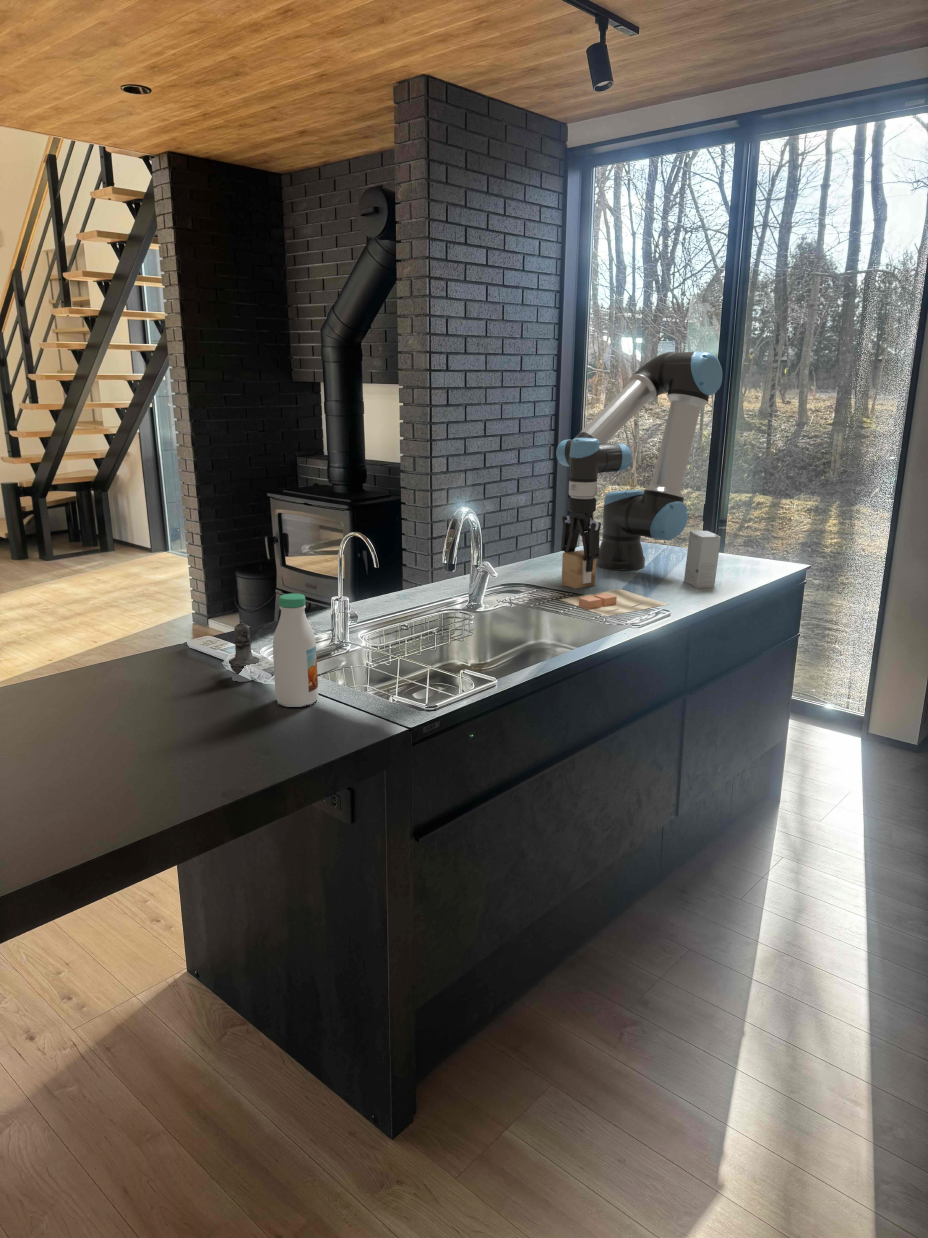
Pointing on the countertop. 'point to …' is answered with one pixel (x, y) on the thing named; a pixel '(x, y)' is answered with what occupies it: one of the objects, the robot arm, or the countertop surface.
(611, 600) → the terracotta square block
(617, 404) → the robot arm
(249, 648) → the dark grey chess piece
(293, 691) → the milk bottle
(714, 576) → the skincare box
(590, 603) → the salmon orange square block
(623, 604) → the birch board
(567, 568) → the cardboard box
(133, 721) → the countertop surface
